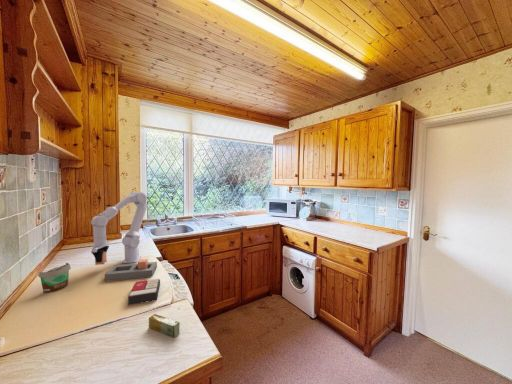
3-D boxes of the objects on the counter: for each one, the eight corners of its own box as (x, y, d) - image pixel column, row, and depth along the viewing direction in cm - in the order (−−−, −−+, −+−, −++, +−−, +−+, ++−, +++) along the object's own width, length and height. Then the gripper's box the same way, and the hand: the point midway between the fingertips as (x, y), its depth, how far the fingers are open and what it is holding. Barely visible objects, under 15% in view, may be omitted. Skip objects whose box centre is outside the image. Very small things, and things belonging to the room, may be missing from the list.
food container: (50, 295, 95) (48, 273, 95) (39, 294, 97) (38, 272, 96) (78, 282, 107) (77, 263, 107) (68, 281, 109) (67, 262, 108)
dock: (114, 271, 121) (114, 259, 120) (157, 267, 126) (156, 255, 126) (105, 281, 109) (104, 267, 109) (152, 276, 114) (151, 263, 114)
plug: (98, 262, 123) (98, 251, 123) (106, 261, 124) (106, 251, 124) (95, 264, 119) (94, 254, 119) (103, 264, 120) (103, 253, 120)
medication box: (180, 333, 73) (180, 322, 73) (174, 338, 70) (174, 326, 70) (154, 323, 78) (154, 313, 78) (148, 328, 75) (148, 317, 75)
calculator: (160, 277, 106) (156, 290, 92) (160, 286, 107) (156, 300, 92) (135, 280, 103) (127, 295, 89) (135, 289, 103) (127, 305, 89)
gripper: (97, 234, 127) (99, 256, 128) (84, 241, 113) (86, 266, 114) (111, 233, 128) (112, 255, 129) (100, 240, 114) (101, 265, 115)
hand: (101, 260), depth 121 cm, fingers closed on plug, 4 cm apart
